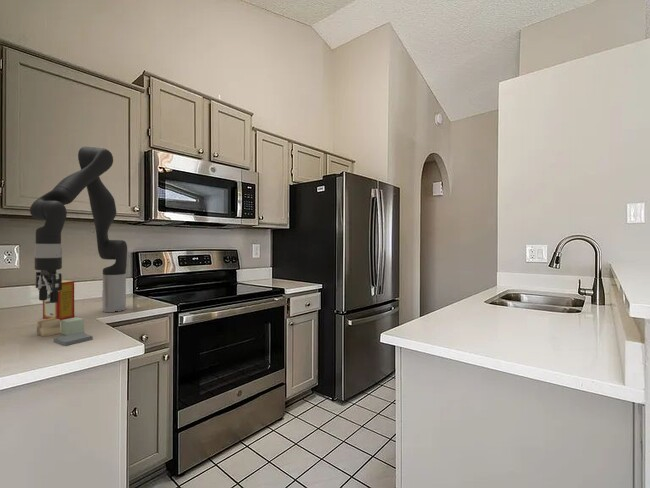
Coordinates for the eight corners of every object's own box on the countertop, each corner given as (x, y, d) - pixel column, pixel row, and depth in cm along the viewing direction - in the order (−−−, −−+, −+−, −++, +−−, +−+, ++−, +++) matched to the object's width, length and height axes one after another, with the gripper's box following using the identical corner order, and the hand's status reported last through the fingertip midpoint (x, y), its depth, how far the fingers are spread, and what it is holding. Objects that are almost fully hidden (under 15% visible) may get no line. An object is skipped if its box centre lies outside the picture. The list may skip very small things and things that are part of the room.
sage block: (61, 333, 119) (61, 320, 119) (77, 330, 123) (77, 317, 123) (67, 336, 116) (67, 322, 116) (83, 332, 121) (83, 319, 121)
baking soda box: (74, 317, 142) (74, 280, 141) (57, 320, 135) (57, 282, 135) (60, 315, 145) (59, 278, 144) (42, 318, 139) (42, 280, 138)
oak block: (36, 334, 117) (36, 320, 117) (53, 331, 122) (53, 317, 122) (43, 336, 115) (42, 322, 115) (60, 333, 119) (60, 319, 119)
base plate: (53, 341, 110) (53, 338, 110) (80, 335, 117) (80, 332, 117) (65, 345, 106) (64, 342, 106) (92, 339, 113) (92, 335, 113)
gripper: (70, 256, 117) (70, 301, 118) (52, 255, 124) (52, 297, 125) (44, 257, 111) (44, 305, 111) (26, 256, 118) (26, 301, 118)
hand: (48, 301), depth 118 cm, fingers open, 8 cm apart
